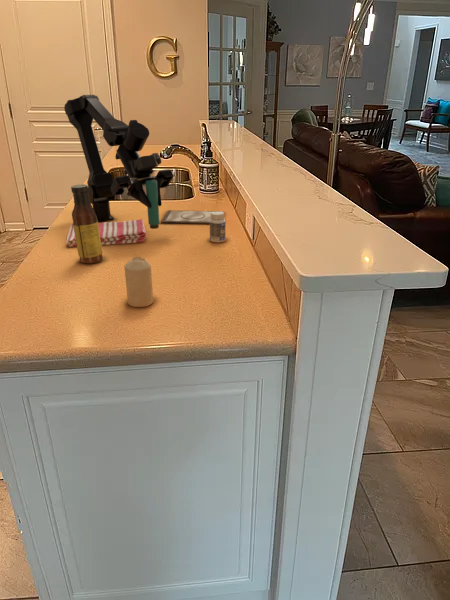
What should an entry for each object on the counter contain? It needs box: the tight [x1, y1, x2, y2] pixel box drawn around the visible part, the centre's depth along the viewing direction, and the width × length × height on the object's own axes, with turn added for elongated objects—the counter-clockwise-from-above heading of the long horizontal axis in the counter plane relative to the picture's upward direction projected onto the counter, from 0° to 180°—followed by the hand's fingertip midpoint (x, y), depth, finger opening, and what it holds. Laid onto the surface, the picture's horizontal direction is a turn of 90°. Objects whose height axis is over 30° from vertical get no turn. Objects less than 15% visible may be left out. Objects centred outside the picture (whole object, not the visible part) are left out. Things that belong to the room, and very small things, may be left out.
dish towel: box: [65, 218, 148, 248], centre depth 145 cm, size 17×23×4 cm
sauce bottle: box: [70, 184, 103, 264], centre depth 122 cm, size 6×6×20 cm
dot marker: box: [145, 180, 161, 230], centre depth 136 cm, size 3×3×14 cm
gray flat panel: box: [160, 209, 224, 225], centre depth 164 cm, size 20×15×1 cm
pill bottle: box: [209, 210, 227, 243], centre depth 140 cm, size 5×5×8 cm
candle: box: [124, 256, 154, 308], centre depth 101 cm, size 6×6×10 cm
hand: (155, 206), depth 136 cm, fingers closed on dot marker, 3 cm apart
